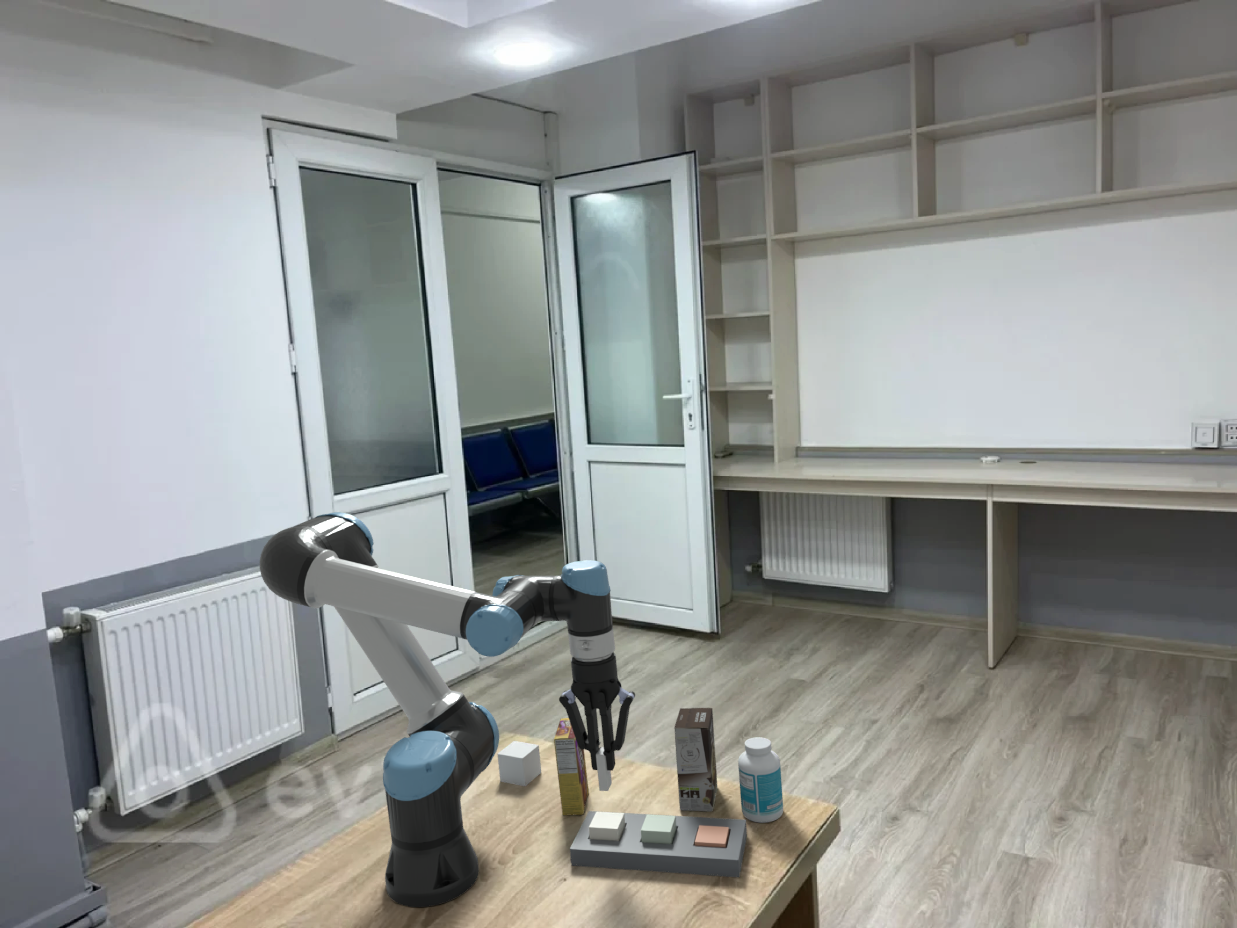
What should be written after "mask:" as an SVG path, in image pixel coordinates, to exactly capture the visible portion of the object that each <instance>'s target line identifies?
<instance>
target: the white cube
mask: <svg viewBox="0 0 1237 928" xmlns="http://www.w3.org/2000/svg"><path fill="white" fill-rule="evenodd" d="M496 754H497V762H498V773H499V782H502V783H505V784H511V785H516V786H522V787H526V786H527V785H528V784H530V783H532V781H533V780H534V779H536V778H537V777H538V776H539V775H540V774H542V766H541V765H542V764H541V755H540V754H541V753H540V745H539V744H535V743H528V742H524V741H517V740H513V741H512V742H511V743H509V744H508V745H507V746H506V747H504V748H503V749H501V750H500V751H499V752H498V753H496Z"/></svg>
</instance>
